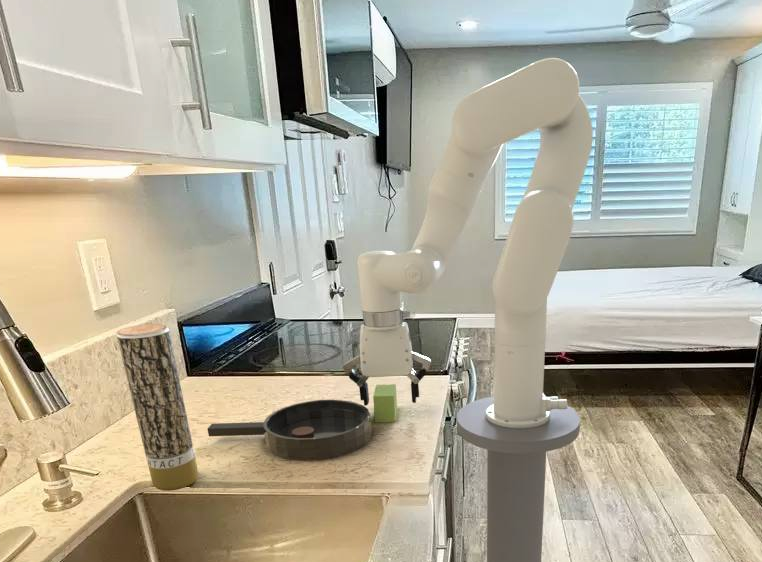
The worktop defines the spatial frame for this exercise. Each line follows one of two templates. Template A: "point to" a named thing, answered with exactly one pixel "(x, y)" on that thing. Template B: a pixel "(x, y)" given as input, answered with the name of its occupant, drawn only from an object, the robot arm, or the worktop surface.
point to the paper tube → (158, 405)
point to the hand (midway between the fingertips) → (390, 401)
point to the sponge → (385, 403)
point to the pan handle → (236, 429)
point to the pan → (318, 429)
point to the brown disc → (303, 432)
